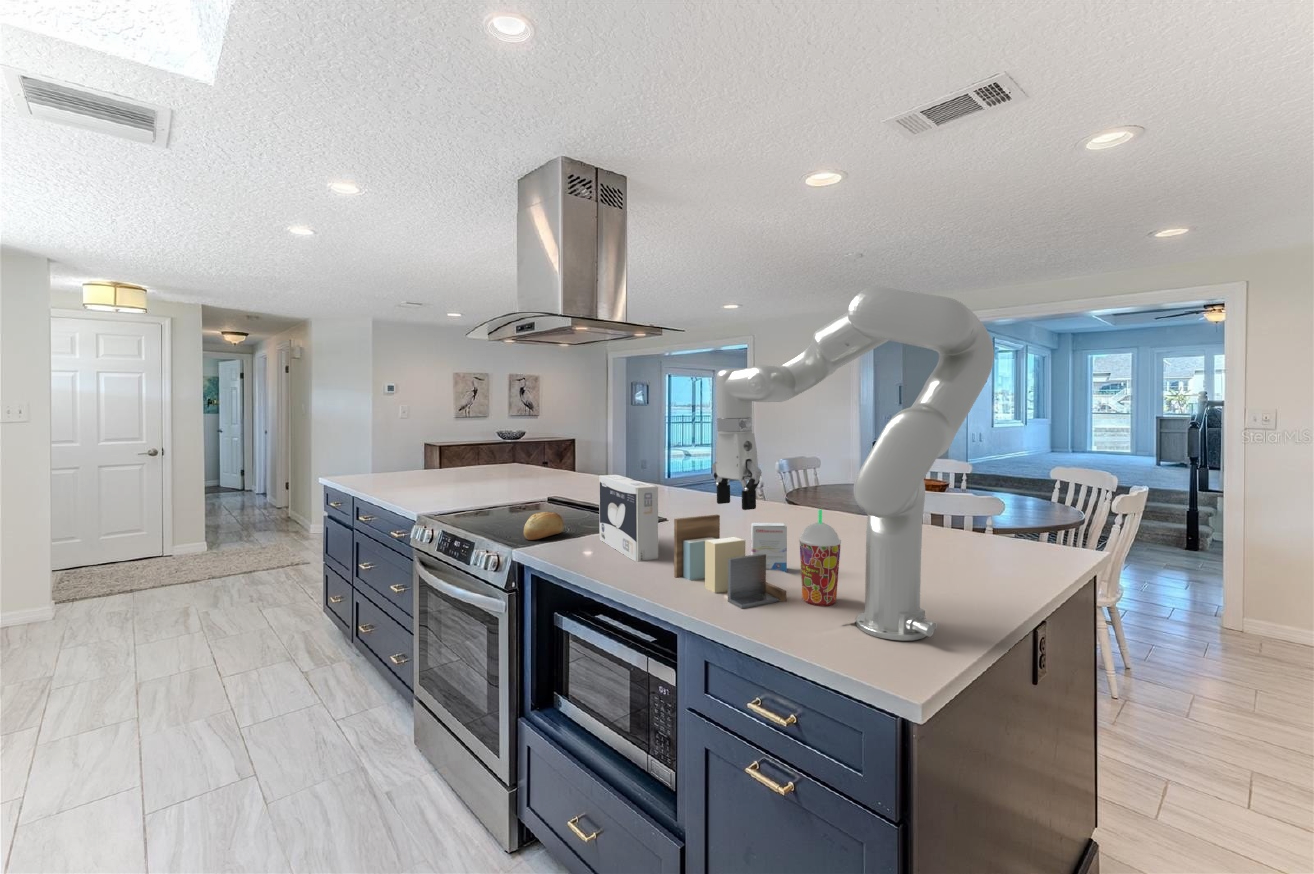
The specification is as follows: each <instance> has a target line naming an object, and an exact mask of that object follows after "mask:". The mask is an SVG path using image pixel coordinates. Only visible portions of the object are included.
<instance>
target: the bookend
mask: <svg viewBox="0 0 1314 874" xmlns="http://www.w3.org/2000/svg"><path fill="white" fill-rule="evenodd" d="M766 581H767V569H766V554H756V555H751V554H750V555H745V556H742V557H735V558H728V591H727V602H728V603H730V604H732V605H734V606H735V607H737V608H740V609H741V610H742V609H747V608H751V607H752V608H753V607H758V606H763V605H768V604H773V603H777V602H778V601H779V600H778V598H777V597H774V596H772V595H770V594H768V593H766Z"/></svg>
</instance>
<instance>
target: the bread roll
mask: <svg viewBox="0 0 1314 874" xmlns="http://www.w3.org/2000/svg"><path fill="white" fill-rule="evenodd" d="M564 527H565V523H564V520H563V518H562V516H561V515H560V514H559V513H557V512H552V511H541V512H536V513H534V514H532V515H530V516H529V518H528V519H527V521H526V522H525V524H524V527H523V537H524V538H525V539H526V540H528V541H535V540H540V539H544V538H547V537H550V536H553V535H558V534H561V533H562V532H563V531H564Z"/></svg>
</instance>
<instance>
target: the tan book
mask: <svg viewBox="0 0 1314 874" xmlns="http://www.w3.org/2000/svg"><path fill="white" fill-rule="evenodd" d="M742 556H746V540H745V539H743V538H740V537H738V536H731V537H723V538H722V537H720V539H712V540H705V578H704V589H706V590H708V591H709V592H712V593H713V594H718V593H724V592H728V558H735V557H742Z"/></svg>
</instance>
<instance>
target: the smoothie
mask: <svg viewBox="0 0 1314 874" xmlns="http://www.w3.org/2000/svg"><path fill="white" fill-rule="evenodd" d="M822 514H823V509H818V522H814V523H812V524H810V525H807V527H806V528H805V529H804V530H803V532H802V534H801V536H800V537H799V538H798V542H799V555H800V579H801V593H802V594H801V597H802V599H803V600H804V601H805V602H804V603H807V604H808V605H812V606H818V607H828V606H829V607H830V606H831V605H832V606H833V605H834V603H836V601H837V596H838V595H837V594H838V581H839V569H840V560H841V559H840V556H841V544H842V540H841V539H840V538H839V535H838V533H837V532H836V531H837V530H835V528H834V527H832V526H831V525H829V524H828V523H825V522H823V515H822Z"/></svg>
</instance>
